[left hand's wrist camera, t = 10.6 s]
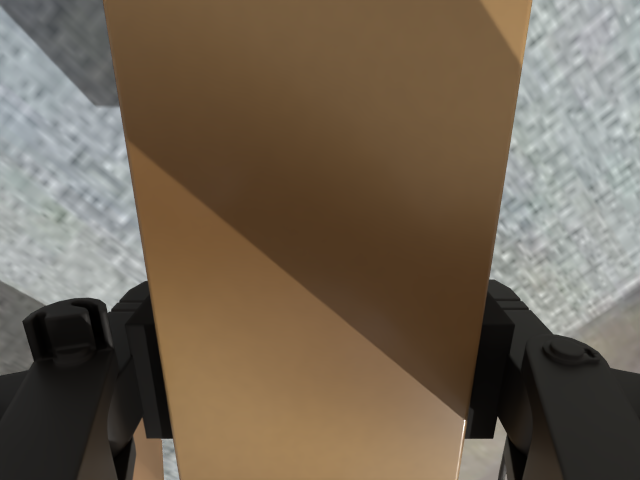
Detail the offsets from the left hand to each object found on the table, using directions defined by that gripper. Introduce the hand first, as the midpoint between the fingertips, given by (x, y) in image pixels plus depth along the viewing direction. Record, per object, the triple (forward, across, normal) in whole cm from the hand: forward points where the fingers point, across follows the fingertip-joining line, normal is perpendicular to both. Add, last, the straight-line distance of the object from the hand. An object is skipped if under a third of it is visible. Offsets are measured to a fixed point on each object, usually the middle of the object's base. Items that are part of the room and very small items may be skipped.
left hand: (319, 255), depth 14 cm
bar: (+1, 0, -33) cm, 33 cm away
